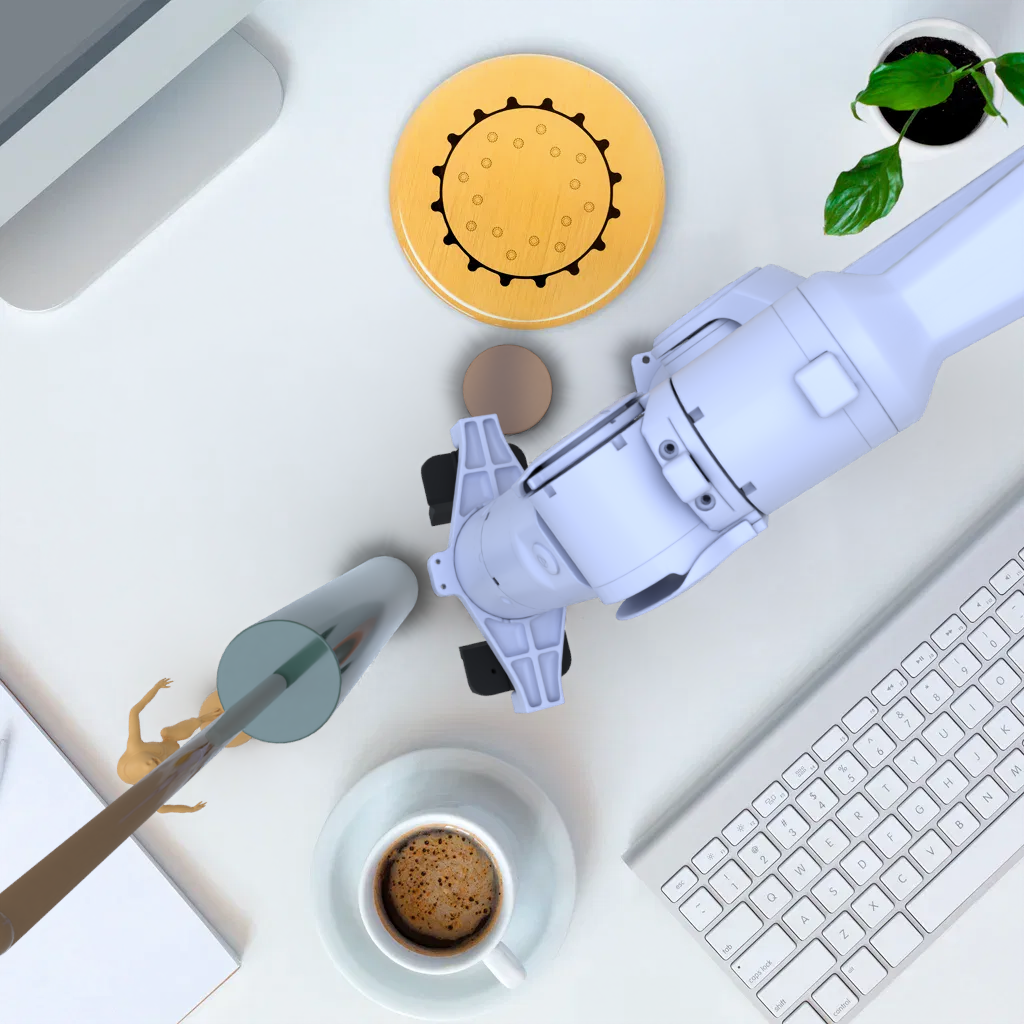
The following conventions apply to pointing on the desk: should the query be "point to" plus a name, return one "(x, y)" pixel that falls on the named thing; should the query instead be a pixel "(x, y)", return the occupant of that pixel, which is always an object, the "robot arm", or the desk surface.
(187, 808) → the figurine
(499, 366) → the coaster
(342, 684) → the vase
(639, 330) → the desk surface
